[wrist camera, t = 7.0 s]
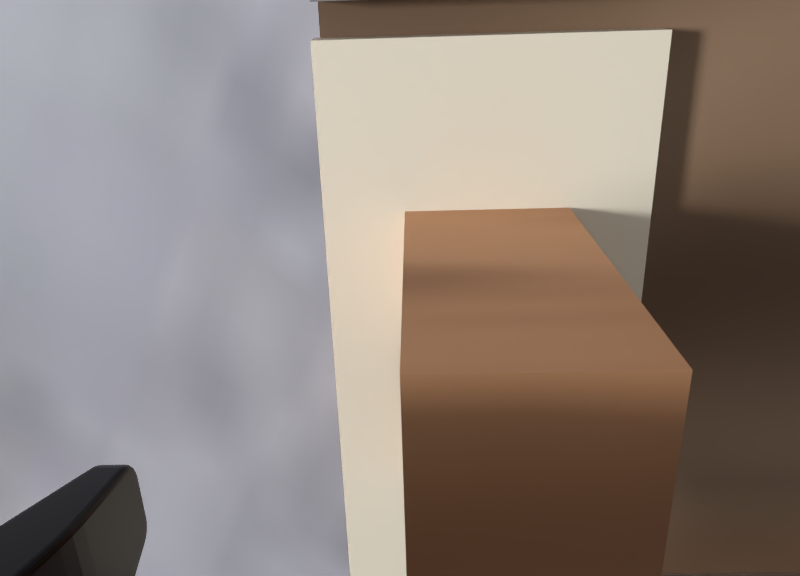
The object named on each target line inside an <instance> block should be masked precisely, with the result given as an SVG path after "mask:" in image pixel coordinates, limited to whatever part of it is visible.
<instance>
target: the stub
mask: <svg viewBox="0 0 800 576" xmlns="http://www.w3.org/2000/svg"><path fill="white" fill-rule="evenodd" d="M671 37H672V29H663V28H639V29H606V30H573V31H540V32H507V33H474V34H441V35H408V36H375V37H343V38H315V39H313V40H311V55H312V68H313V81H314V95H315V108H316V122H317V135H318V149H319V162H320V176H321V189H322V202H323V216H324V229H325V243H326V256H327V270H328V283H329V296H330V310H331V323H332V337H333V350H334V364H335V377H336V391H337V404H338V417H339V431H340V444H341V458H342V471H343V485H344V498H345V511H346V525H347V538H348V552H349V565H350V576H661V575H662V569H663V562H664V556H665V549H666V542H667V536H668V529H669V523H670V516H671V509H672V503H673V496H674V490H675V483H676V476H677V470H678V463H679V457H680V450H681V443H682V437H683V430H684V424H685V417H686V410H687V404H688V397H689V391H690V384H691V377H692V371H693V370H692V368H691V367H690V366H689V364H688V363H687V362H686V361H685V359H684V358H683V357H682V355H681V354H680V353H679V351H678V350H677V349H676V347H675V346H674V345H673V343H672V342H671V341H670V339H669V338H668V337H667V335H666V334H665V333H664V332H663V330H662V329H661V328H660V326H659V325H658V324H657V322H656V321H655V320H654V318H653V317H652V316H651V314H650V313H649V312H648V310H647V309H646V308H645V307H644V305H643V304H642V303H641V299H642V291H643V282H644V273H645V264H646V256H647V247H648V238H649V229H650V221H651V212H652V203H653V194H654V186H655V177H656V168H657V159H658V151H659V142H660V133H661V124H662V116H663V107H664V98H665V89H666V81H667V72H668V63H669V54H670V46H671Z"/></svg>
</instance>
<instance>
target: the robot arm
mask: <svg viewBox="0 0 800 576" xmlns="http://www.w3.org/2000/svg"><path fill="white" fill-rule="evenodd" d="M146 531H147V521H146V516H145V511H144V506H143V502H142V497H141V492H140V488H139V483H138V479H137V475H136V472H135V471H134V469H133V468H132V467H130V466H129V465H98V466H95V467H93V468H91V469H90V470H88V471H87V472H85V473H83V474H82V475H80V476H79V477H77V478H75V479H74V480H72V481H71V482H69V483H68V484H66V485H64V486H63V487H61V488H60V489H58V490H56V491H55V492H53V493H52V494H50V495H49V496H47V497H45V498H44V499H42V500H41V501H39V502H38V503H36V504H34V505H33V506H31V507H30V508H28V509H26V510H25V511H23V512H22V513H20V514H19V515H17V516H15V517H14V518H12V519H11V520H9V521H7V522H6V523H4V524H3V525H1V526H0V576H135V574H136V570H137V567H138V563H139V560H140V557H141V553H142V550H143V546H144V543H145V539H146Z"/></svg>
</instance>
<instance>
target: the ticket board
mask: <svg viewBox="0 0 800 576" xmlns="http://www.w3.org/2000/svg"><path fill="white" fill-rule="evenodd" d="M310 2H318V11H319V25H320V38H343V37H375V36H408V35H441V34H474V33H507V32H540V31H573V30H606V29H639V28H663V29H672V37H671V46H670V54H669V63H668V72H667V81H666V89H665V98H664V107H663V116H662V124H661V133H660V142H659V151H658V159H657V168H656V177H655V186H654V194H653V203H652V212H651V221H650V229H649V238H648V247H647V256H646V264H645V273H644V282H643V291H642V299H641V303H642V304H643V305H644V307H645V308H646V309H647V310H648V312H649V313H650V314H651V316H652V317H653V318H654V320H655V321H656V322H657V324H658V325H659V326H660V328H661V329H662V330H663V332H664V333H665V334H666V335H667V337H668V338H669V339H670V341H671V342H672V343H673V345H674V346H675V347H676V349H677V350H678V351H679V353H680V354H681V355H682V357H683V358H684V359H685V361H686V362H687V363H688V364H689V366H690V367H691V368H692V370H693V371H692V377H691V384H690V391H689V397H688V404H687V410H686V417H685V424H684V430H683V437H682V443H681V450H680V457H679V463H678V470H677V476H676V483H675V490H674V496H673V503H672V509H671V516H670V523H669V529H668V536H667V542H666V549H665V556H664V562H663V569H662V575H661V576H800V0H310Z"/></svg>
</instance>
